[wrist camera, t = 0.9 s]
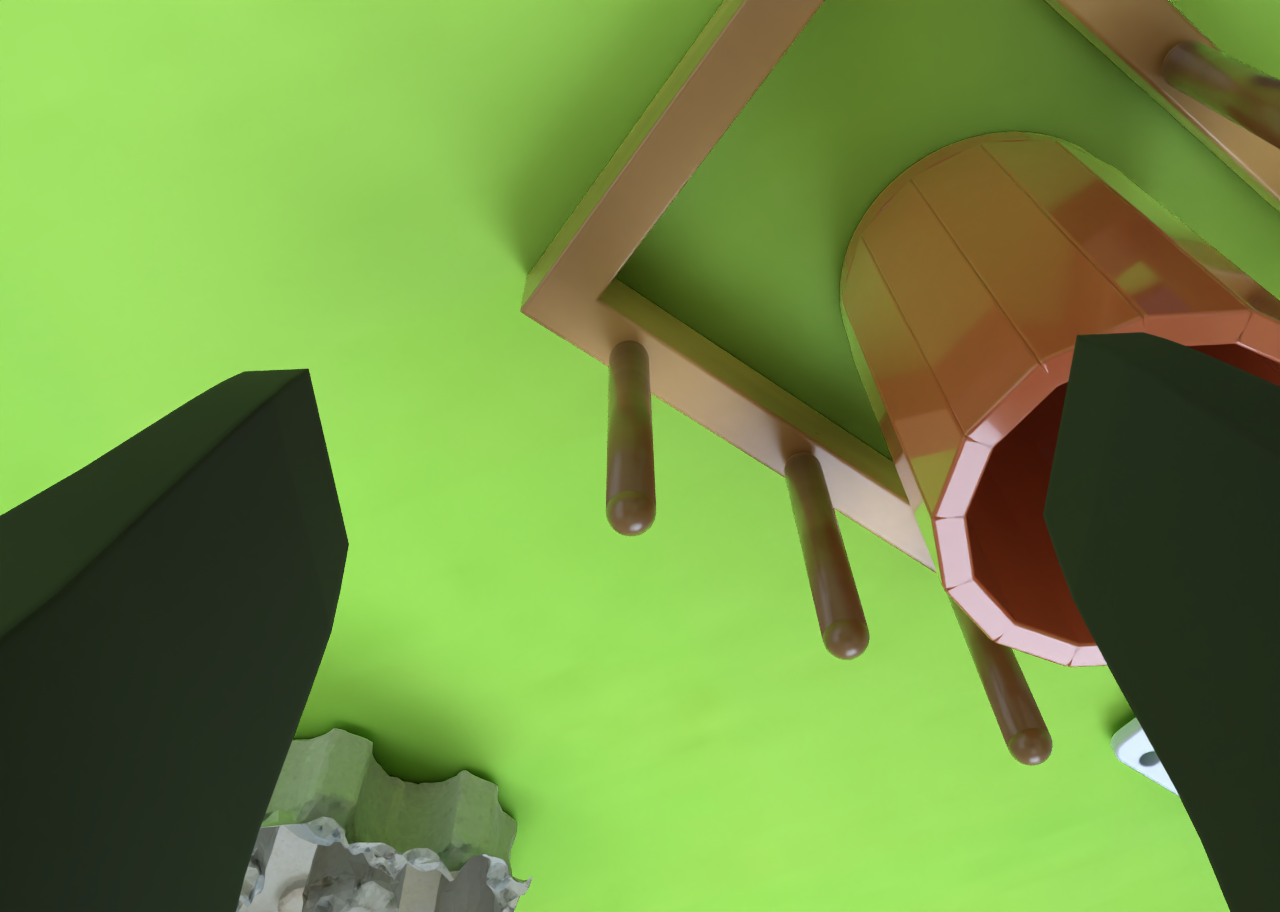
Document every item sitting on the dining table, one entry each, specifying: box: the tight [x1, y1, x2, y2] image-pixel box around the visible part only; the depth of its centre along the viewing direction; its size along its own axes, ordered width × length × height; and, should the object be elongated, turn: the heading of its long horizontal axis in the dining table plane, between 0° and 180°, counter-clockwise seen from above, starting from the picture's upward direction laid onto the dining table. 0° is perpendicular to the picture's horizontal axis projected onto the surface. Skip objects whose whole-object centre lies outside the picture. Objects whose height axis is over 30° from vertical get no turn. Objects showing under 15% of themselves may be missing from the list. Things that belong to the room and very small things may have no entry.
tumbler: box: [840, 131, 1280, 667], centre depth 17 cm, size 6×6×8 cm
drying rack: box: [520, 0, 1280, 765], centre depth 17 cm, size 12×10×7 cm
